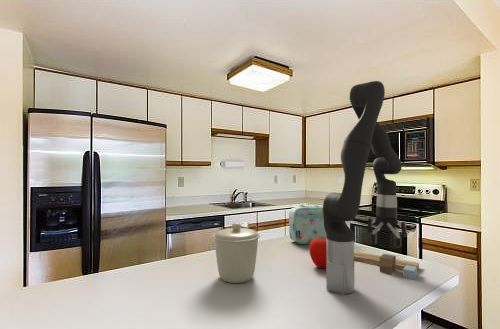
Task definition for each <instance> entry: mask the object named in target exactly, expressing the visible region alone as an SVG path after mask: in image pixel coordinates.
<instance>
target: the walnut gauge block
mask: <svg viewBox="0 0 500 329" xmlns="http://www.w3.org/2000/svg"><path fill="white" fill-rule="evenodd" d="M379 256H380V266H379V272H380V273H384V274H388V275H393V274H394V273H395V272H396V270H397V269H396V259H397V258H396V257H397V256H396V255H394V254H389V253H383V254H382V255H379Z"/></svg>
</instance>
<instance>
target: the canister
mask: <svg viewBox="0 0 500 329" xmlns="http://www.w3.org/2000/svg"><path fill="white" fill-rule="evenodd" d="M260 236H261V234H260V233H259V232H257V231H256V230H253V229H252V228H249V229H247V228H241V225H240V224H239V222H234V223H232V224H231V227H228V228H224V229H220V230H218V231H216V232H215V233H213V235H212V238H213V239H214V246H215V254H216V255H215V257H216V263H217V264H216V265H217V270H218V275H219V277H220V279H221V280H222V281H224V282H226V283H230V284H231V283H232V284H242V283H246V282H249V280H251V279H252V278H253V277H254V274H255V270H256V264H257V255H258V254H257V253H258V244H259V239H260Z"/></svg>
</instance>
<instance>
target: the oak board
mask: <svg viewBox="0 0 500 329" xmlns="http://www.w3.org/2000/svg"><path fill="white" fill-rule="evenodd" d="M380 256H381V255H378V254H373V253H369V252H368V253H367V252H364V251H357V250H355V251H354V262H355V261H357V262H360V263H365V264H368V265H369V264H370V265H374V266H379V267H380ZM406 265H409V266H414V267H417V271H419V269H420V263H419V262H414V261H410V260H406V259H405V260H404V259H399V258H396V270H398V271H402V272H403V269H404V268H405V266H406Z"/></svg>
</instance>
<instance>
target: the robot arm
mask: <svg viewBox="0 0 500 329" xmlns="http://www.w3.org/2000/svg"><path fill="white" fill-rule="evenodd" d="M385 93H386V92H385V86H384V84H383V82H381V81H379V80H374V81H368V82H363V83H360V84H355V85H352V87H350V90H349V93H348V98H349V102H350V104H351V107H352V109H353V111H354V113H355V115H356V117H357V119H358V121H356V123H355V124H354V125H353V126H352V127H351V129H350V130H349V131H348V132H347V134H346V136H345V137H344V140H343V144H342V147H341V151H340V162H341V165H342V166H341V167H342V169H343V173H344V182H343V186H342V187H343V188H342V190H341V192H334V191H333V192H330V193H328V194H327V195H326V196H325V198H324V200H323V203H322V204H323V205H322V206H323V219H324V229H325V232H326V243H327V246H326V249H327V263H326V268H325V271H326V272H325V274H326V290H327V291H329V292H332V293H336V294H339V295H342V296H345V295H348V294H352V293H354V292H355V260H354V252H355V233H354V231H353V230H352V229H351V227H349V226H348V224H347V223H346V222H351V221H353V220H355V218H356V217H357V215H358V214H359V211H360V206H361V200H362V199H361V198H362V190H363V183H364V177H365V172H366V168H367V162H368V160H369V155H370V152H371V151H372V154H373V155H375V156H376V158H375V159H374V160H373V162H372V169H373V173H374V177H375V180H376V186H377V187H376V189H377V190H376V218H373V217H369V218H367V233H370V234H371V235H372V236H371V241H372V242H373V244H375V245H376V244H377V243H378V232H379V231H380V230H381V231H387V232H392V234H394V235H395V236H396V238H395V240H396V241H395V242H396V244H395V245H396V246H395V247H396V248H397V249H398V248H400V247H402V239H404V238H406V237H407V234H408V233H407V223H406V221H399V220H398V199H397V183H396V181H395V180H392V179H388V178H387V177H386V176H385V175H397V174H399V173H400V172H401V170H402V167H403V165H402V161H401V159H400V157H399V156H398V155H397V153H396V152H395V150H394V149H393V147H392V145H391V141H390V138H389V134H388V132H387V131H386V130H385V128H384V126H382V125H381V124H380V123H379V122H378V118H379V115H380V113H381V109H382V107H383V103H384V100H385ZM370 150H371V151H370ZM373 224H376V225H377V226H376V227H375V228H374V229H373ZM397 226H399V227H400V228H401V233H400V231H399V229H398V228H397Z"/></svg>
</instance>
